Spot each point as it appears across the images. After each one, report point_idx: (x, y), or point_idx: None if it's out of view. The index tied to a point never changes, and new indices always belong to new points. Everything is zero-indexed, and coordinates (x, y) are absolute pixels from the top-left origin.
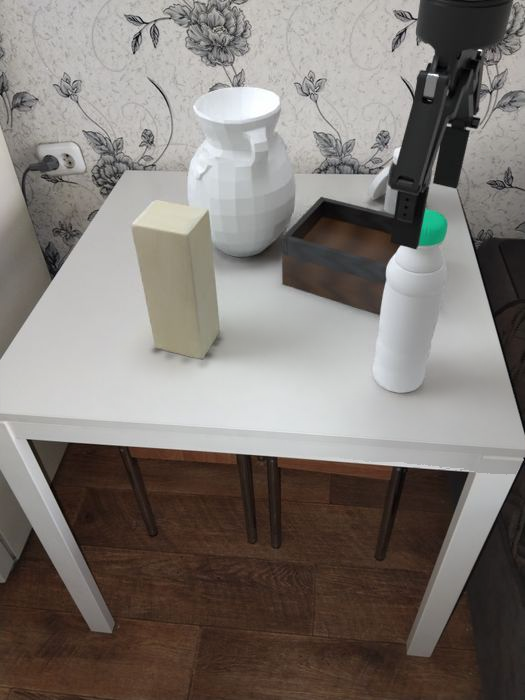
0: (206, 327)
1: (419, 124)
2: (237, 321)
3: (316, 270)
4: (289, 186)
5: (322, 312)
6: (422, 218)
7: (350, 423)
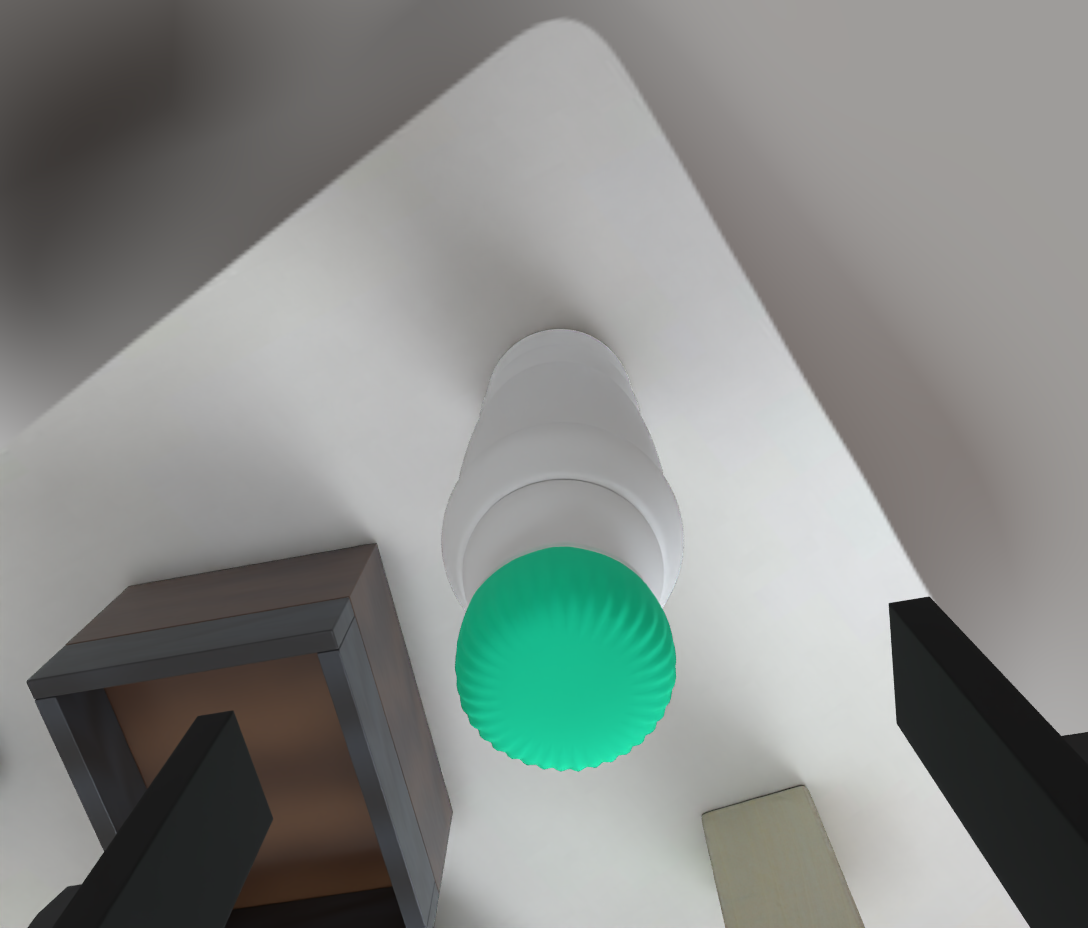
0: (789, 850)
1: None
2: (644, 806)
3: (415, 786)
4: None
5: None
6: (1004, 707)
7: (777, 403)
